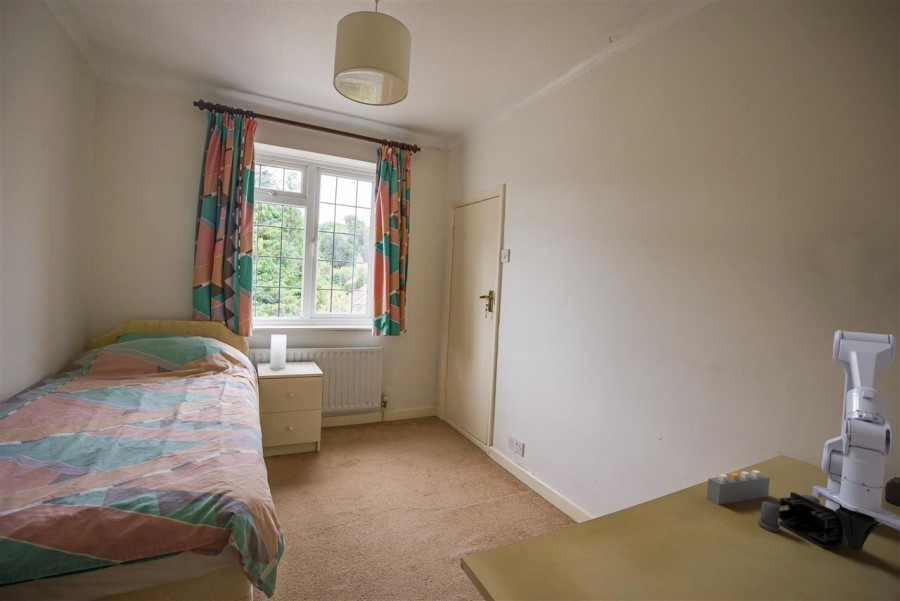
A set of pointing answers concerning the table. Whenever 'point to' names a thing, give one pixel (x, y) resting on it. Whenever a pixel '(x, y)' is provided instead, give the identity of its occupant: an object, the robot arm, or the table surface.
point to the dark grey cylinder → (812, 498)
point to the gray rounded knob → (769, 517)
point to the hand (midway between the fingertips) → (854, 548)
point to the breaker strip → (737, 487)
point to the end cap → (812, 521)
